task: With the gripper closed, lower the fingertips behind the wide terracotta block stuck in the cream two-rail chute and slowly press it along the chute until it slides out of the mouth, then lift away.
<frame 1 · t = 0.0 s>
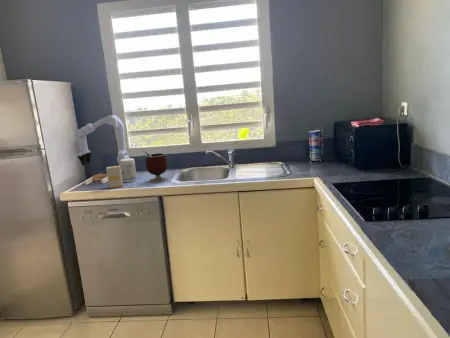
hand: (86, 164, 259), 10 cm above the worktop, tool pointing down, fingers open, 7 cm apart
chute: (99, 181, 246), on the worktop
supplement tub: (129, 181, 241), on the worktop
supplement box: (116, 187, 226), on the worktop
mate gourd: (157, 180, 235), on the worktop
jammed block: (100, 177, 250), point 2 cm above the worktop, slide at 0.0 cm
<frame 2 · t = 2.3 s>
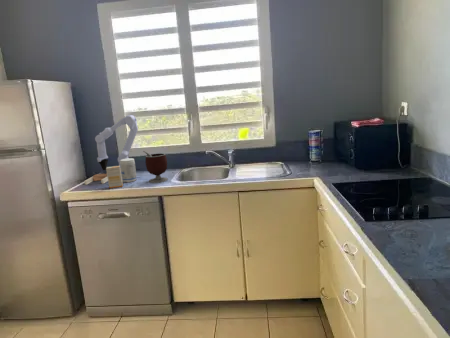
hand: (104, 169, 257), 5 cm above the worktop, tool pointing down, fingers closed
nothing on the worktop moved.
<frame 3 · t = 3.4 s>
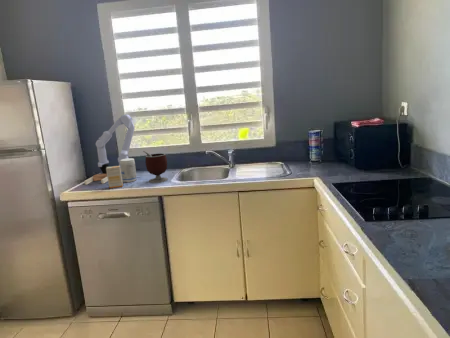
hand: (105, 174, 257), 2 cm above the worktop, tool pointing down, fingers closed
nothing on the worktop moved.
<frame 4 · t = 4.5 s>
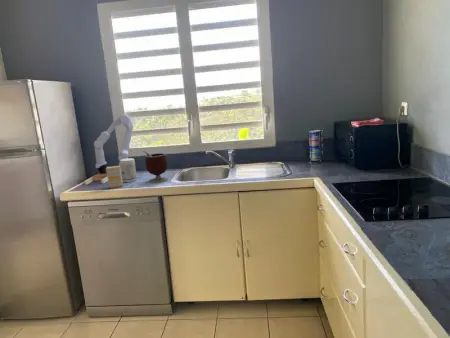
hand: (102, 176, 253), 2 cm above the worktop, tool pointing down, fingers closed
jammed block: (100, 177, 250), point 2 cm above the worktop, slide at 0.0 cm, touching gripper
everything else where it was.
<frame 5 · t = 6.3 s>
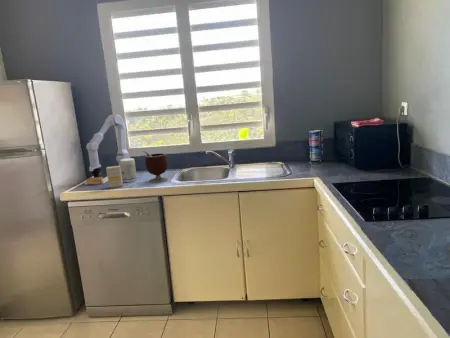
hand: (97, 179, 243), 2 cm above the worktop, tool pointing down, fingers closed
jammed block: (94, 180, 240), point 2 cm above the worktop, slide at 10.3 cm, touching gripper
everything else where it was.
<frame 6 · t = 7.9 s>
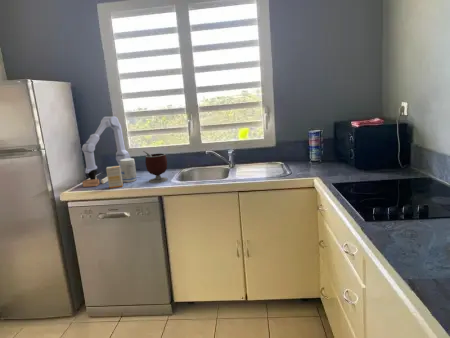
hand: (93, 181, 237), 2 cm above the worktop, tool pointing down, fingers closed
jammed block: (91, 182, 234), point 2 cm above the worktop, slide at 16.4 cm, touching gripper
everything else where it was.
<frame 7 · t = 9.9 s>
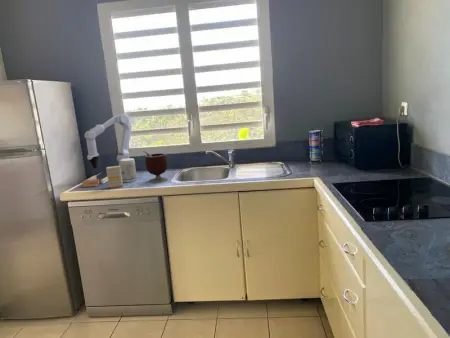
hand: (95, 168, 245), 9 cm above the worktop, tool pointing down, fingers closed
jammed block: (90, 182, 233), point 2 cm above the worktop, slide at 16.6 cm
everything else where it was.
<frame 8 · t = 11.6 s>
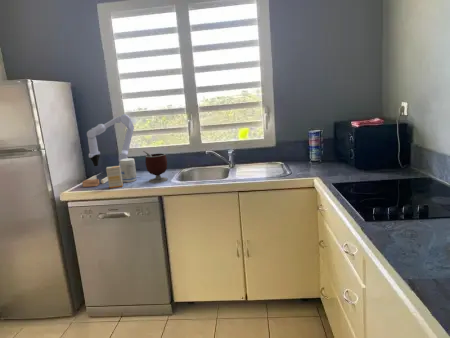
hand: (96, 165, 252), 9 cm above the worktop, tool pointing down, fingers closed
nothing on the worktop moved.
at the end: jammed block slide at 16.6 cm; the gripper is holding nothing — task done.
